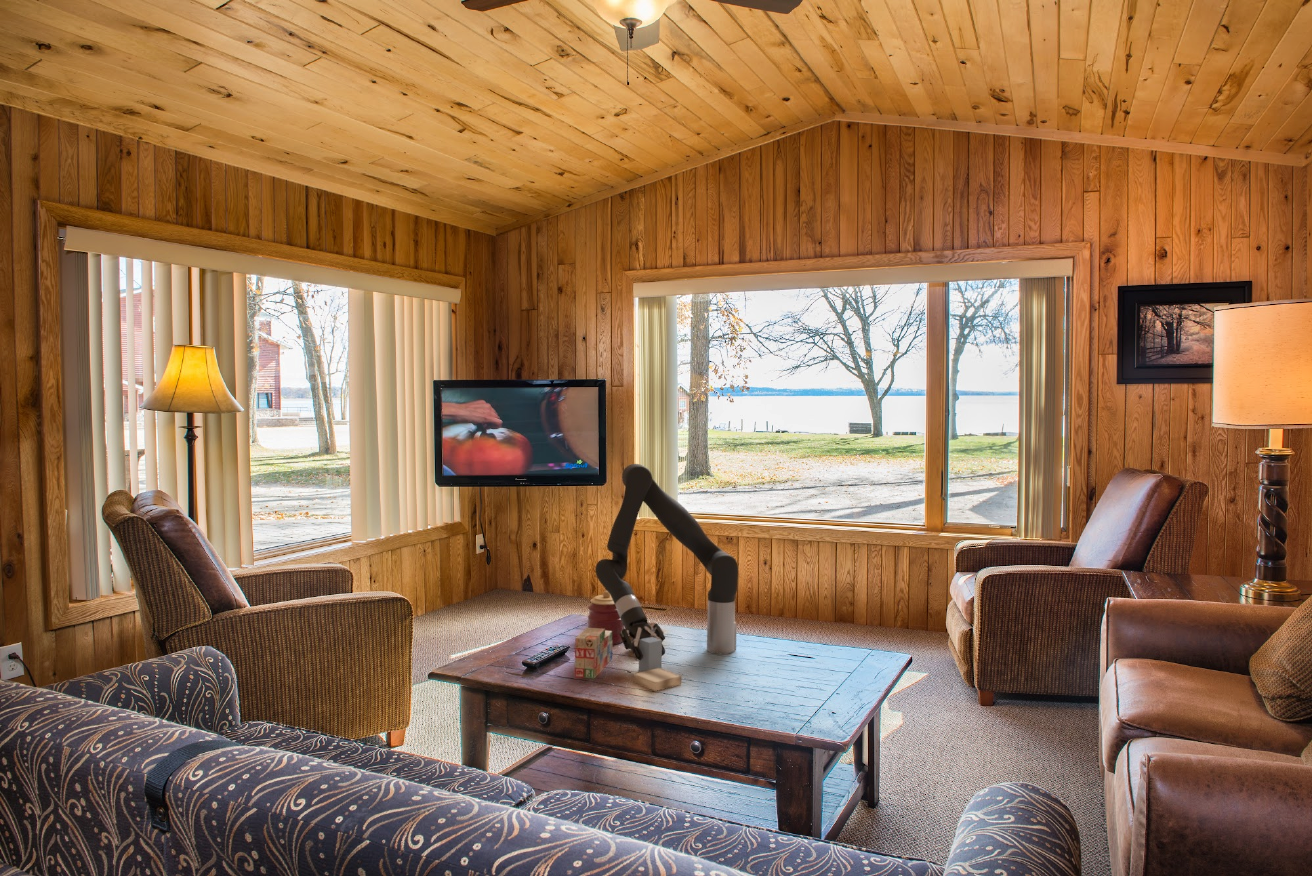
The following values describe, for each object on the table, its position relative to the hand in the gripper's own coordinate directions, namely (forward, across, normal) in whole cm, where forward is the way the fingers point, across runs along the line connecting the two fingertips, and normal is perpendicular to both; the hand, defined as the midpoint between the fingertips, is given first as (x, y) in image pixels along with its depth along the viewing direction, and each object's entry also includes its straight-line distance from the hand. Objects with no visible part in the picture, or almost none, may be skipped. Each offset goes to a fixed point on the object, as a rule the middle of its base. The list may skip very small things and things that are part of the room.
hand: (652, 656), depth 257 cm
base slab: (+10, -5, -2) cm, 12 cm away
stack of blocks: (-6, -12, +14) cm, 19 cm away
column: (+3, 0, +4) cm, 5 cm away
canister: (-23, +9, +31) cm, 39 cm away
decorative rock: (-10, +13, +18) cm, 24 cm away
